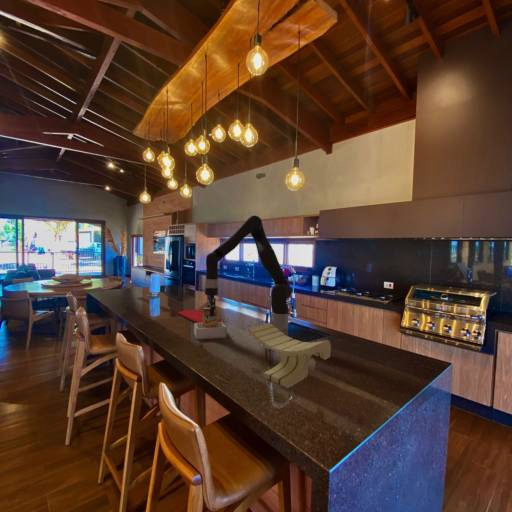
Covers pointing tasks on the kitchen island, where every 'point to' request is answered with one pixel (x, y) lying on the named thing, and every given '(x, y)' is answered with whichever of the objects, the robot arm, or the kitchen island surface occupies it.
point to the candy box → (210, 318)
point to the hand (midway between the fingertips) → (210, 314)
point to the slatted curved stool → (289, 354)
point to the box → (209, 331)
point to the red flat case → (194, 315)
